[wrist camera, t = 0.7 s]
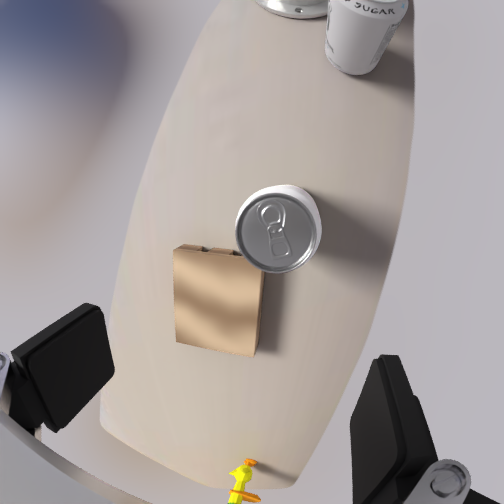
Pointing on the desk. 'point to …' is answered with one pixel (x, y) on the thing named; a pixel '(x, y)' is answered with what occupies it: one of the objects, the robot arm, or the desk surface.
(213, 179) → the desk surface
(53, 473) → the robot arm
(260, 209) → the can
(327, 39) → the energy drink can
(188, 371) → the desk surface
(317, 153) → the desk surface
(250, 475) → the toy figure
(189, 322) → the dock
